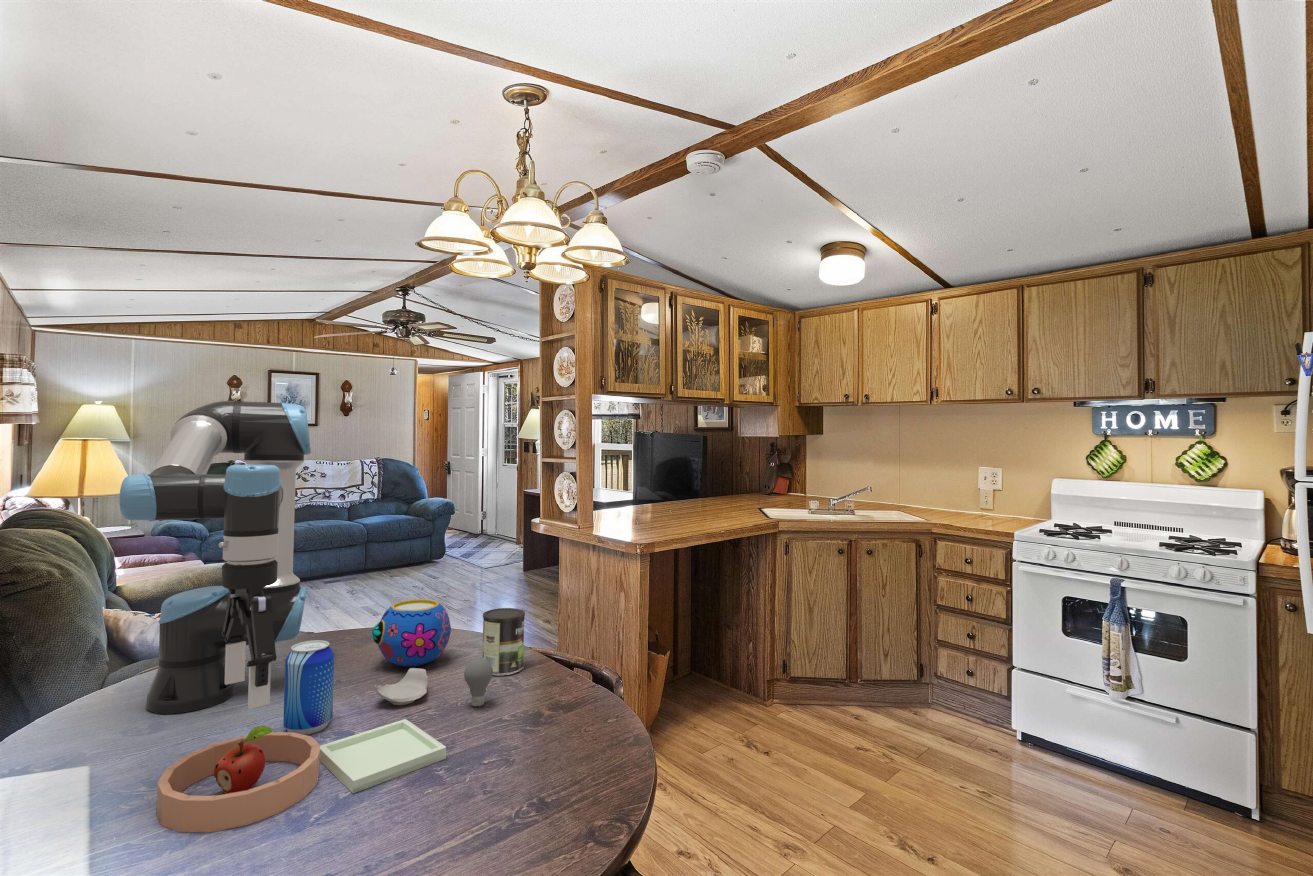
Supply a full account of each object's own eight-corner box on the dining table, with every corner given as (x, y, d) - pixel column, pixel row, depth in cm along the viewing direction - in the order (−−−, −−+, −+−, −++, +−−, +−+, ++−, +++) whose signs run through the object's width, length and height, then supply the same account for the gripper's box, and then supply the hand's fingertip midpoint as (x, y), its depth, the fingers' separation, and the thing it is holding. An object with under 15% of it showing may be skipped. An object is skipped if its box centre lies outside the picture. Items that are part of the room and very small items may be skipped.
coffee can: (527, 662, 160) (529, 608, 161) (518, 677, 150) (519, 619, 150) (488, 661, 161) (489, 607, 161) (475, 676, 150) (477, 618, 150)
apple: (216, 809, 94) (218, 743, 94) (210, 790, 99) (213, 727, 99) (274, 792, 99) (276, 729, 99) (266, 774, 104) (268, 714, 104)
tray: (317, 758, 110) (317, 746, 110) (405, 729, 122) (405, 719, 122) (353, 793, 99) (353, 781, 99) (446, 758, 111) (446, 747, 111)
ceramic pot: (388, 652, 166) (389, 596, 166) (456, 651, 168) (457, 596, 168) (364, 676, 148) (366, 613, 149) (441, 675, 150) (442, 613, 150)
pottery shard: (372, 712, 129) (373, 688, 129) (378, 692, 140) (379, 670, 140) (425, 707, 132) (426, 683, 132) (427, 688, 143) (428, 666, 143)
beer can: (310, 739, 117) (313, 654, 117) (272, 734, 118) (275, 650, 119) (341, 720, 125) (344, 640, 125) (305, 715, 127) (308, 637, 127)
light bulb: (476, 714, 129) (477, 665, 129) (457, 707, 132) (458, 660, 133) (498, 704, 134) (499, 657, 134) (478, 697, 138) (480, 652, 138)
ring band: (146, 790, 99) (147, 762, 99) (294, 745, 114) (294, 721, 114) (173, 852, 84) (174, 819, 84) (338, 791, 100) (339, 763, 100)
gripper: (203, 553, 105) (199, 679, 105) (245, 575, 88) (240, 725, 88) (254, 548, 111) (250, 668, 110) (302, 568, 94) (298, 709, 93)
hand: (246, 693), depth 99 cm, fingers open, 13 cm apart
